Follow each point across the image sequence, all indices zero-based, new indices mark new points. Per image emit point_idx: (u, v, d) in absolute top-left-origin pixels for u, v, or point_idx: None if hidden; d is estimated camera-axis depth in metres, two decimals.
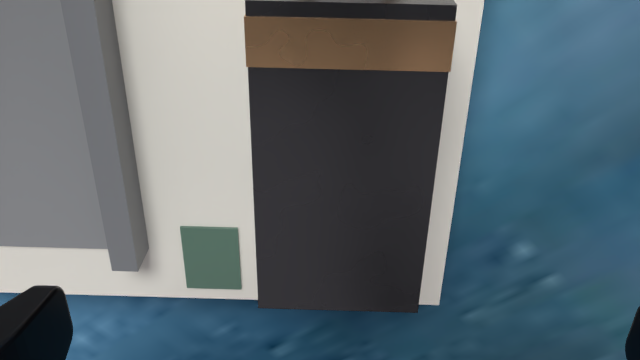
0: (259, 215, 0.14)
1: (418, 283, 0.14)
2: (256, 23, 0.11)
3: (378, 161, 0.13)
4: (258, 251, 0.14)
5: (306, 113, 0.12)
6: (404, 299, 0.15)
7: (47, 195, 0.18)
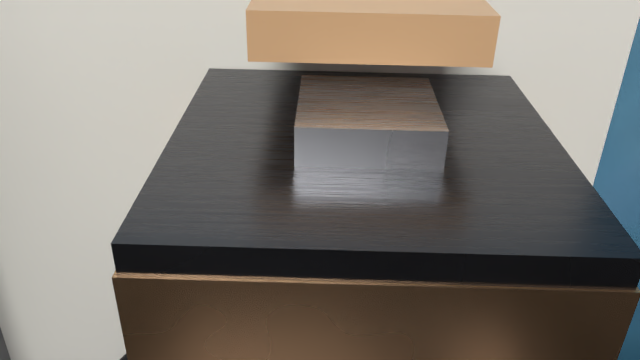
0: None
1: None
2: (144, 291, 0.05)
3: None
4: None
5: None
6: None
7: None
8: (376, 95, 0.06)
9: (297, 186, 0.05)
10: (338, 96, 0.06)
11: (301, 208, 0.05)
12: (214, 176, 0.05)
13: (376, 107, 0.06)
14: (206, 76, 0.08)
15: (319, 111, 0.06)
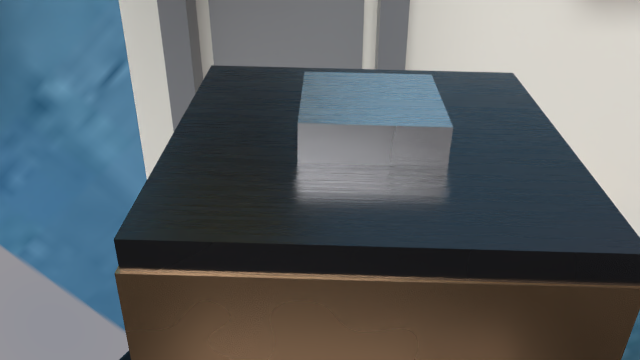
0: None
1: None
2: (147, 287, 0.05)
3: None
4: None
5: None
6: None
7: None
8: (380, 92, 0.06)
9: (300, 182, 0.05)
10: (341, 93, 0.06)
11: (305, 204, 0.05)
12: (217, 172, 0.05)
13: (380, 103, 0.06)
14: (208, 73, 0.08)
15: (322, 107, 0.06)
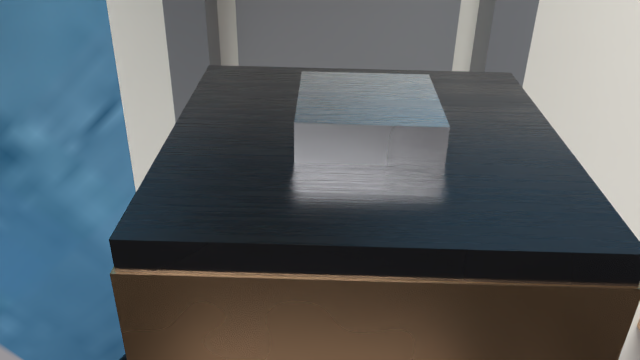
0: None
1: None
2: (143, 288, 0.05)
3: None
4: None
5: None
6: None
7: None
8: (377, 92, 0.06)
9: (297, 183, 0.05)
10: (339, 92, 0.06)
11: (301, 204, 0.05)
12: (214, 172, 0.05)
13: (377, 103, 0.06)
14: (205, 73, 0.08)
15: (319, 107, 0.06)
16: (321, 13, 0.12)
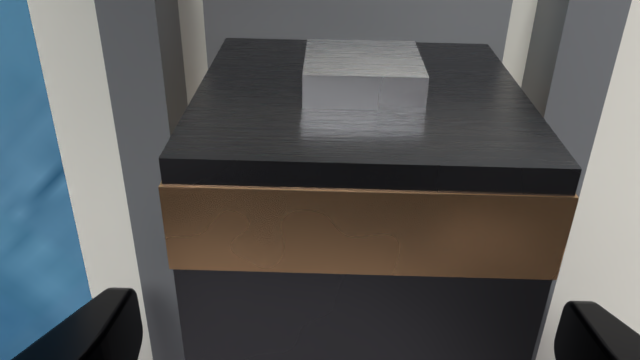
0: None
1: None
2: (184, 198, 0.06)
3: None
4: None
5: (284, 338, 0.07)
6: None
7: None
8: (370, 52, 0.07)
9: (305, 121, 0.06)
10: (338, 54, 0.07)
11: (308, 136, 0.06)
12: (237, 115, 0.07)
13: (370, 61, 0.07)
14: (223, 44, 0.09)
15: (323, 64, 0.07)
16: None
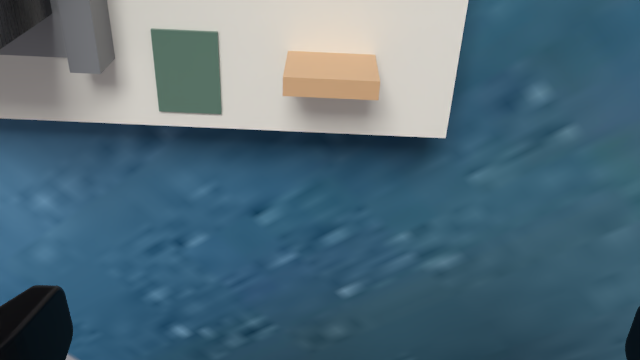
0: None
1: None
2: None
3: None
4: None
5: None
6: None
7: None
8: None
9: None
10: None
11: None
12: None
13: None
14: None
15: None
16: None
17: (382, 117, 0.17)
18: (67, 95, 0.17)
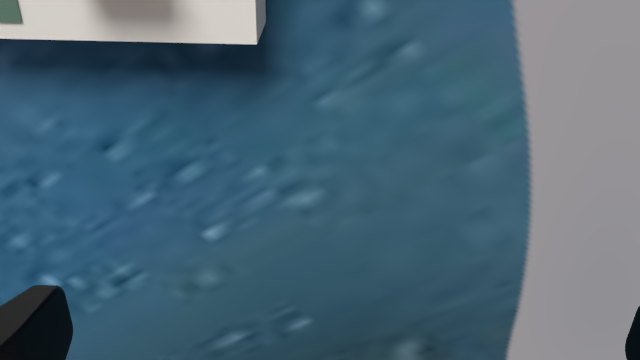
0: None
1: None
2: None
3: None
4: None
5: None
6: None
7: None
8: None
9: None
10: None
11: None
12: None
13: None
14: None
15: None
16: None
17: (187, 22, 0.17)
18: None
